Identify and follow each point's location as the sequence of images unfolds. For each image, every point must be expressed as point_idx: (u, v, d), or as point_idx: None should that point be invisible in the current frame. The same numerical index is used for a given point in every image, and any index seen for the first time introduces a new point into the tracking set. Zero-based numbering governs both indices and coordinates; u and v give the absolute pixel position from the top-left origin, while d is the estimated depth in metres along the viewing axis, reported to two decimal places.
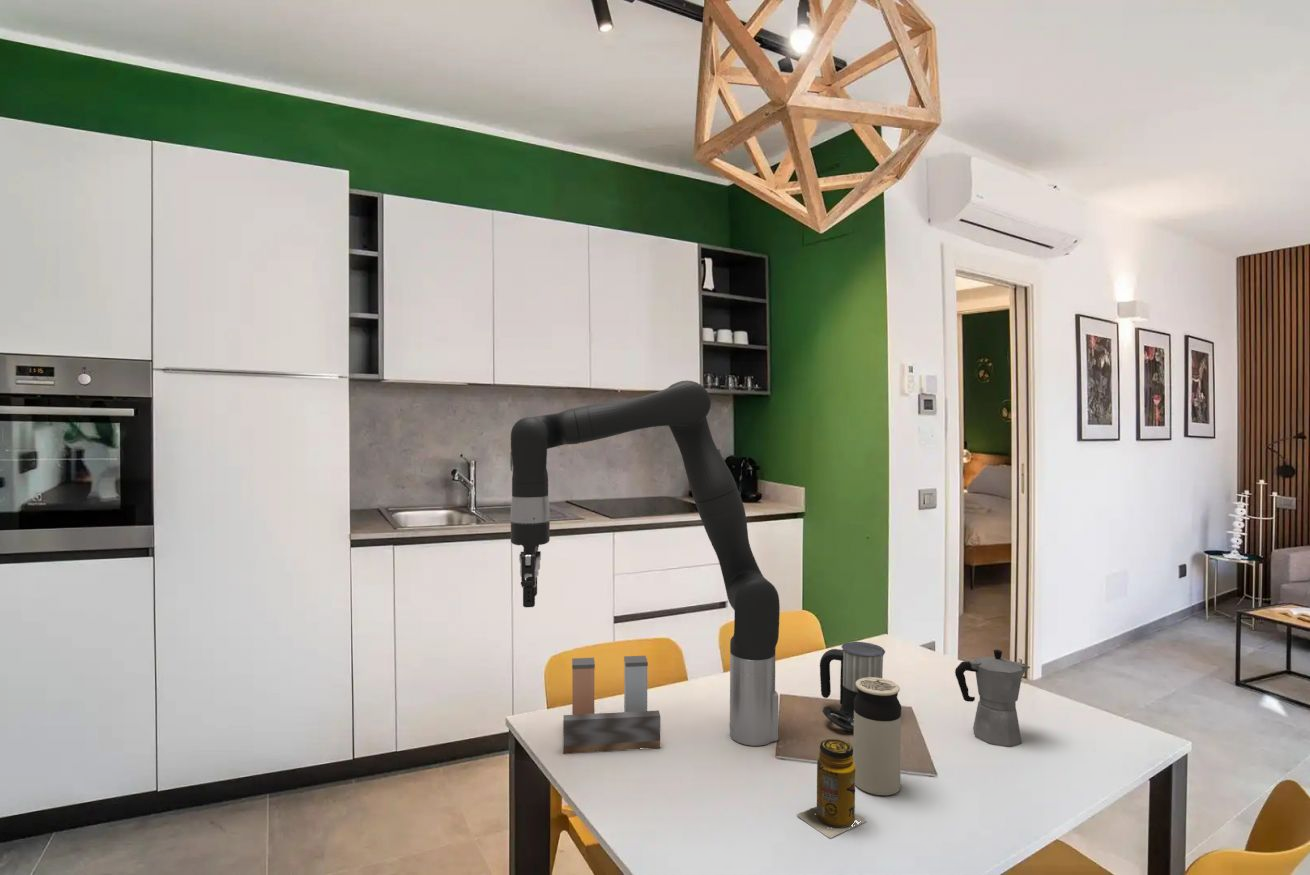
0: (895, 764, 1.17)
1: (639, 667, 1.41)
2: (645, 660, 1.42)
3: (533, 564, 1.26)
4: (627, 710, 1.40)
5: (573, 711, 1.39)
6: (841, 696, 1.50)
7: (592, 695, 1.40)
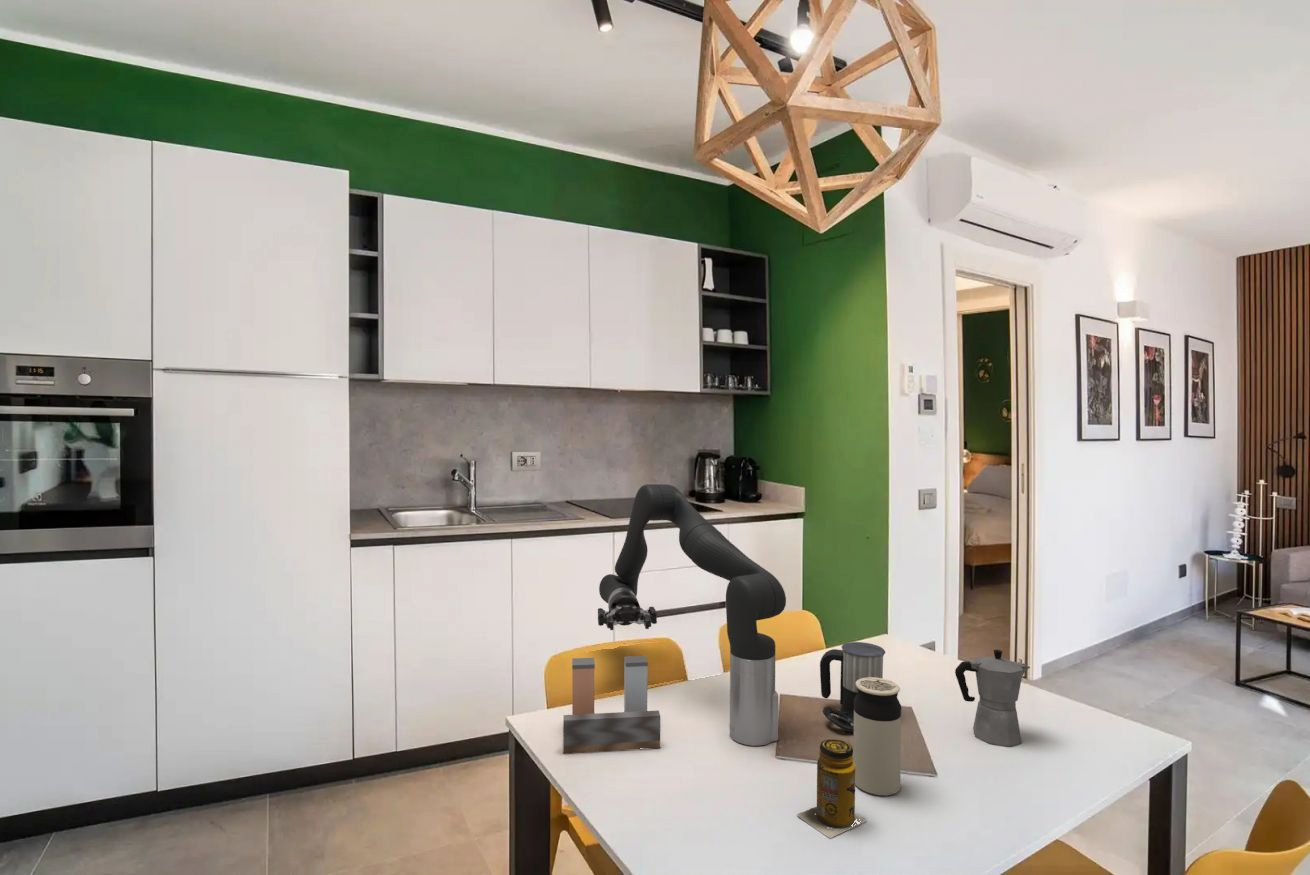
0: (895, 764, 1.17)
1: (639, 667, 1.41)
2: (645, 660, 1.42)
3: (598, 611, 1.62)
4: (627, 710, 1.40)
5: (573, 711, 1.39)
6: (841, 696, 1.50)
7: (592, 695, 1.40)
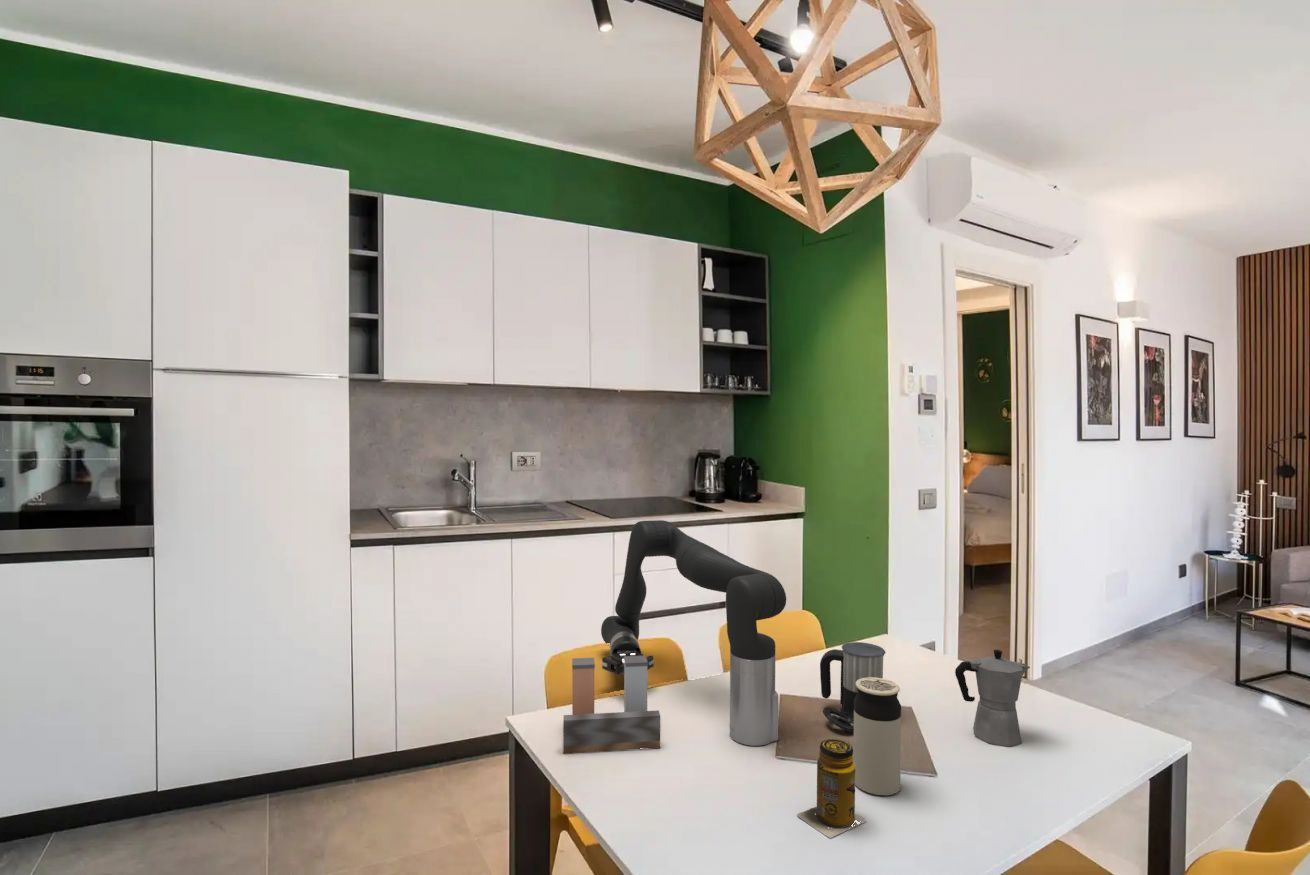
0: (895, 764, 1.17)
1: (639, 667, 1.41)
2: (645, 660, 1.42)
3: (606, 660, 1.60)
4: (627, 710, 1.40)
5: (573, 711, 1.39)
6: (841, 697, 1.50)
7: (592, 695, 1.40)
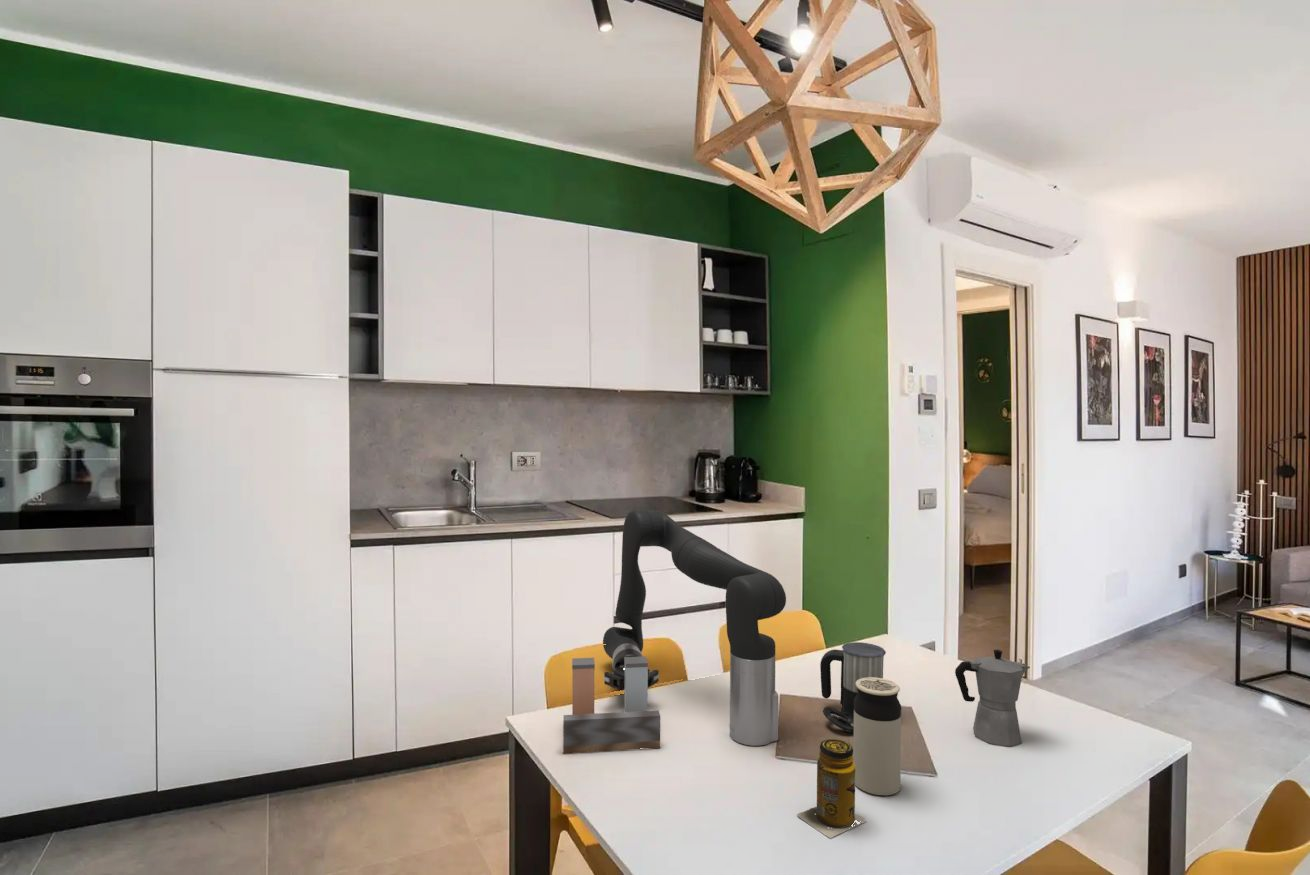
0: (895, 764, 1.17)
1: (639, 667, 1.40)
2: (645, 661, 1.41)
3: (608, 675, 1.51)
4: (627, 711, 1.40)
5: (573, 711, 1.39)
6: (841, 697, 1.50)
7: (592, 695, 1.40)
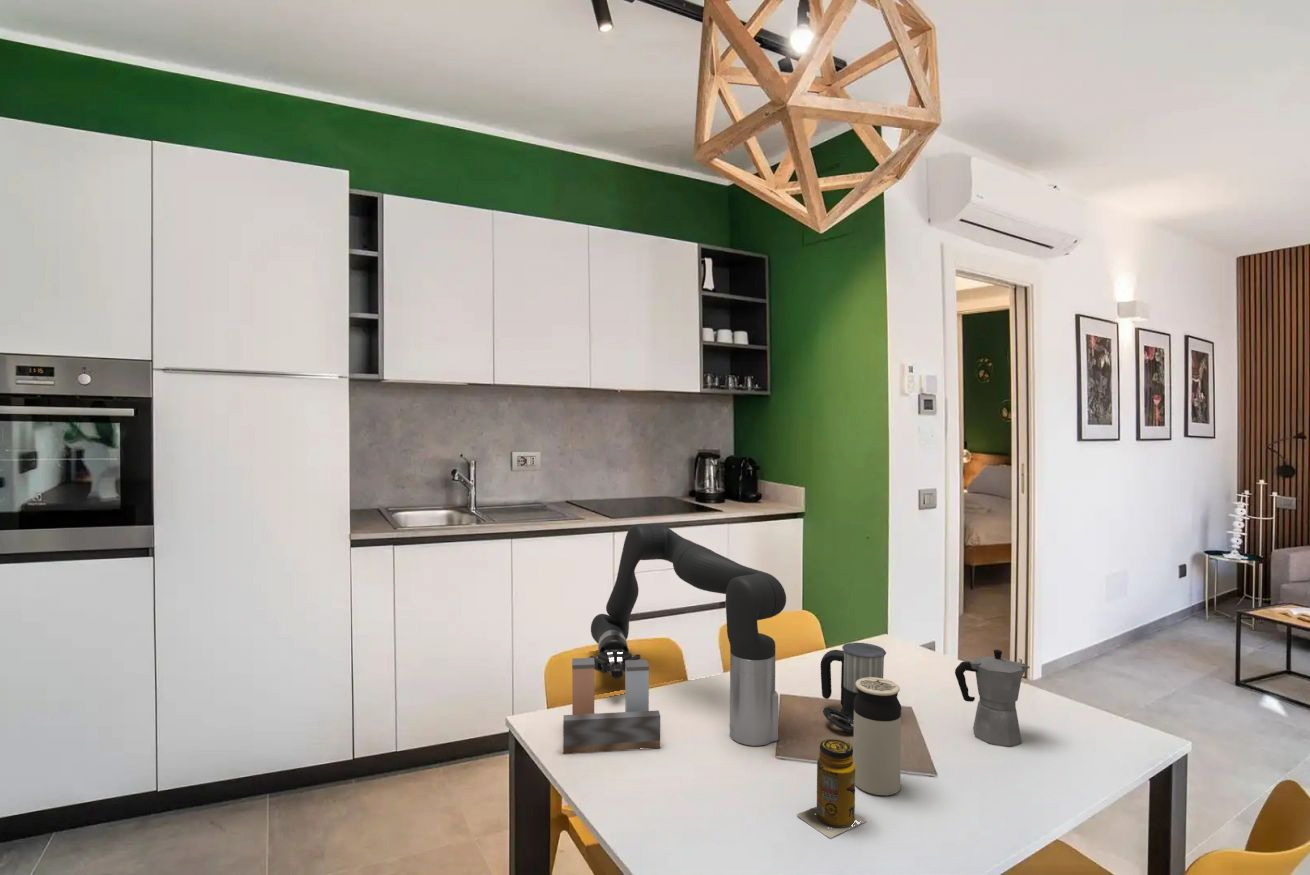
0: (895, 764, 1.17)
1: (640, 671, 1.38)
2: (646, 664, 1.39)
3: None
4: None
5: (573, 711, 1.39)
6: (842, 697, 1.50)
7: (592, 695, 1.40)
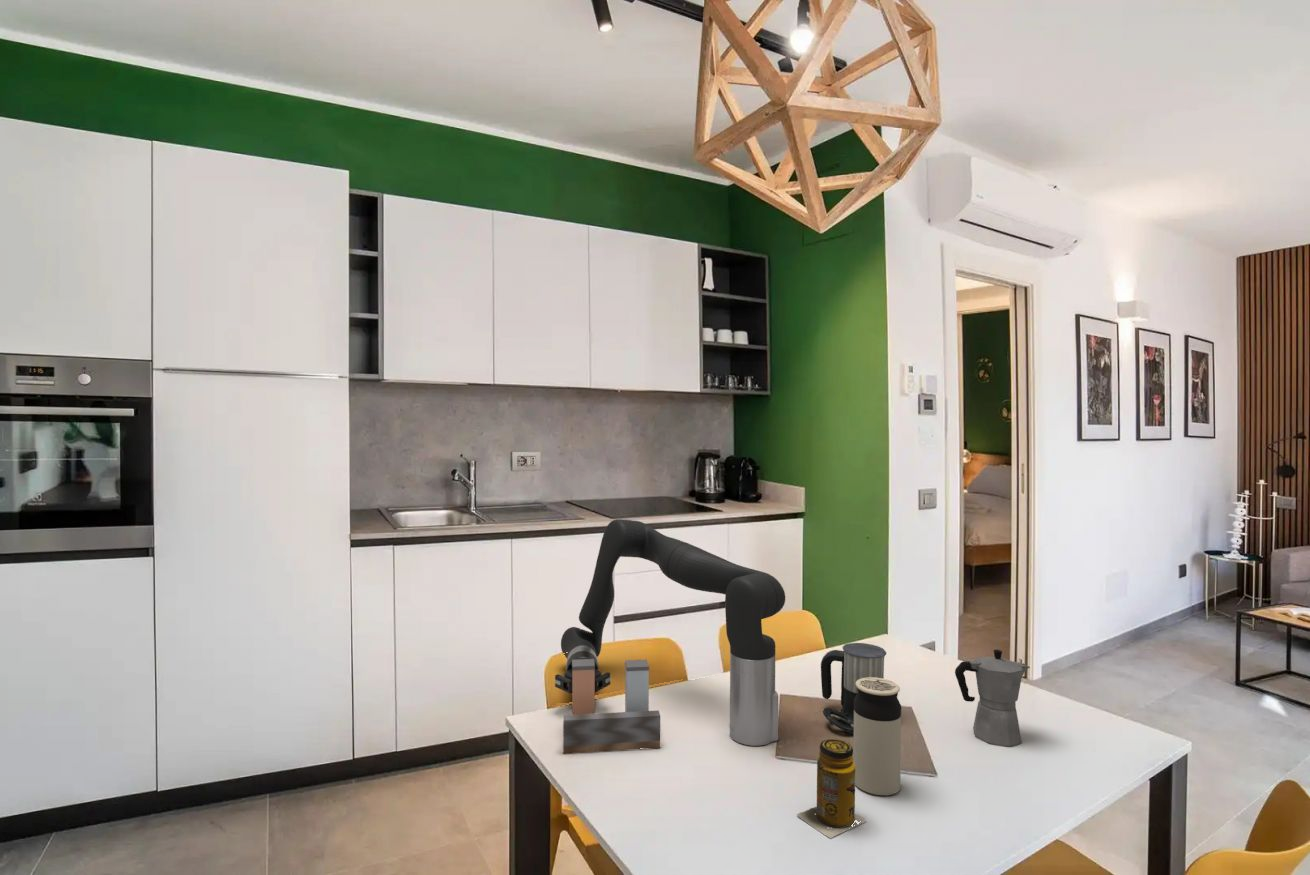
0: (895, 764, 1.17)
1: (640, 671, 1.38)
2: (646, 664, 1.39)
3: (558, 678, 1.49)
4: None
5: (573, 713, 1.38)
6: (842, 697, 1.50)
7: (592, 697, 1.39)
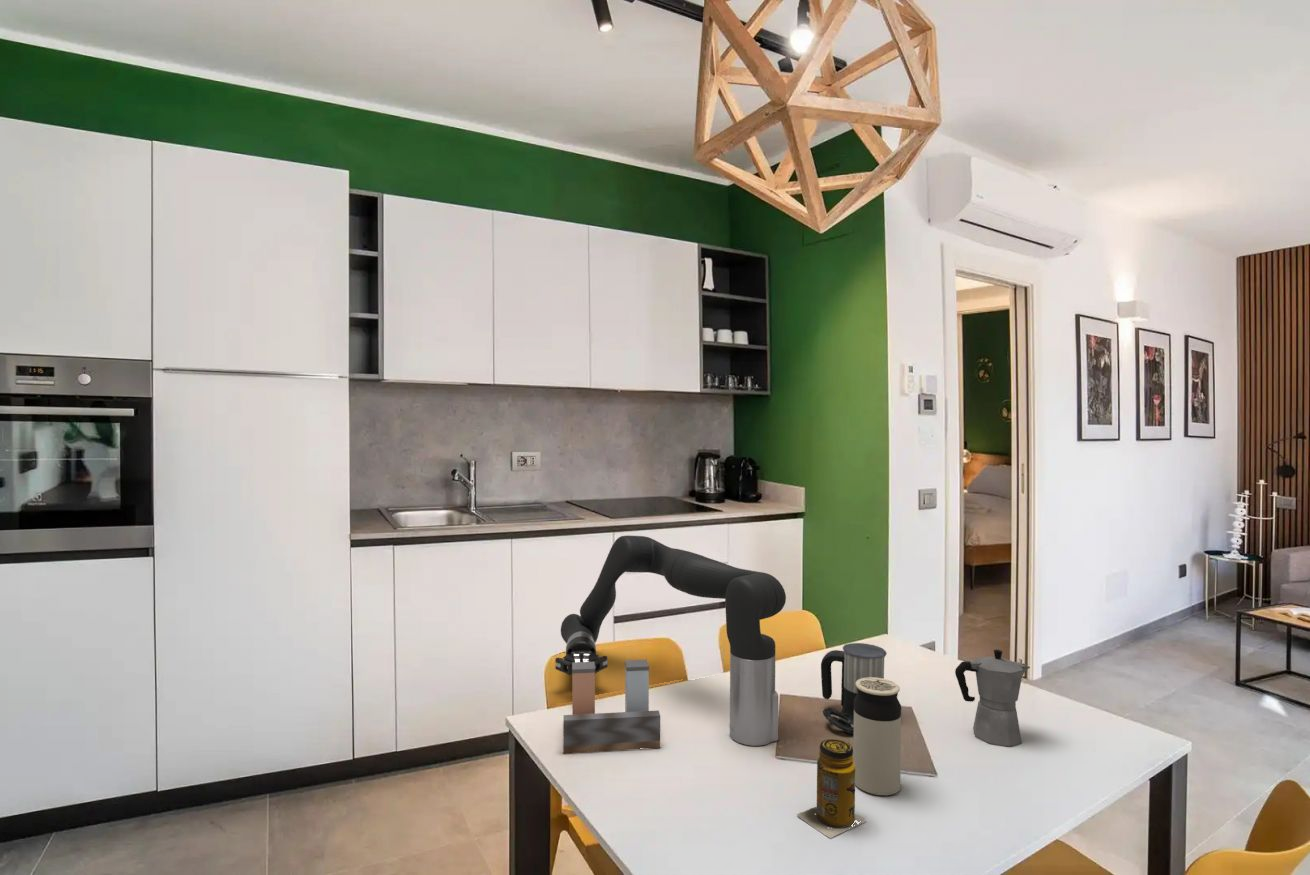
0: (895, 764, 1.17)
1: (640, 671, 1.38)
2: (646, 664, 1.39)
3: (559, 661, 1.59)
4: None
5: None
6: (842, 698, 1.50)
7: (592, 700, 1.37)
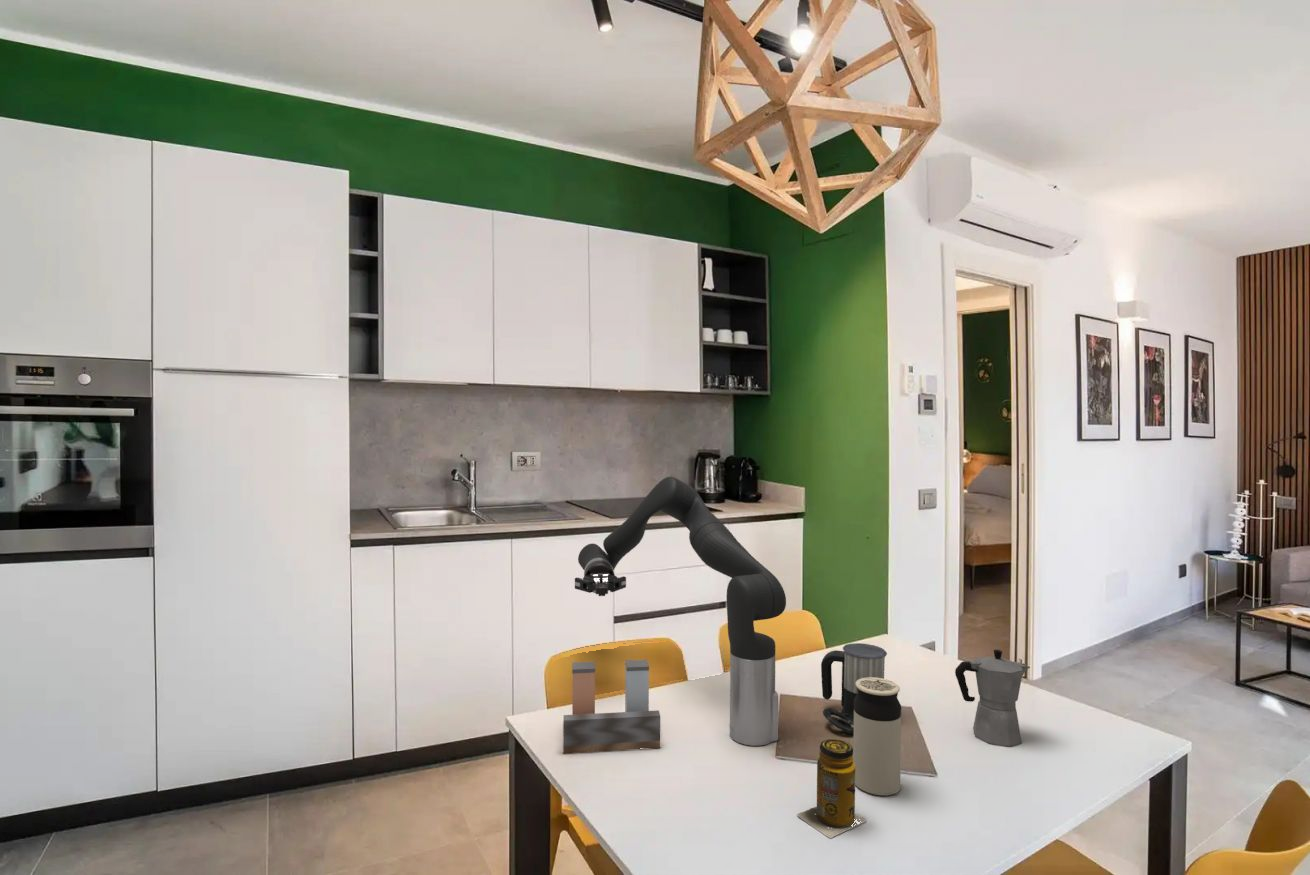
0: (895, 764, 1.17)
1: (640, 671, 1.38)
2: (646, 664, 1.39)
3: (578, 580, 1.61)
4: None
5: None
6: (842, 698, 1.49)
7: (592, 700, 1.37)
